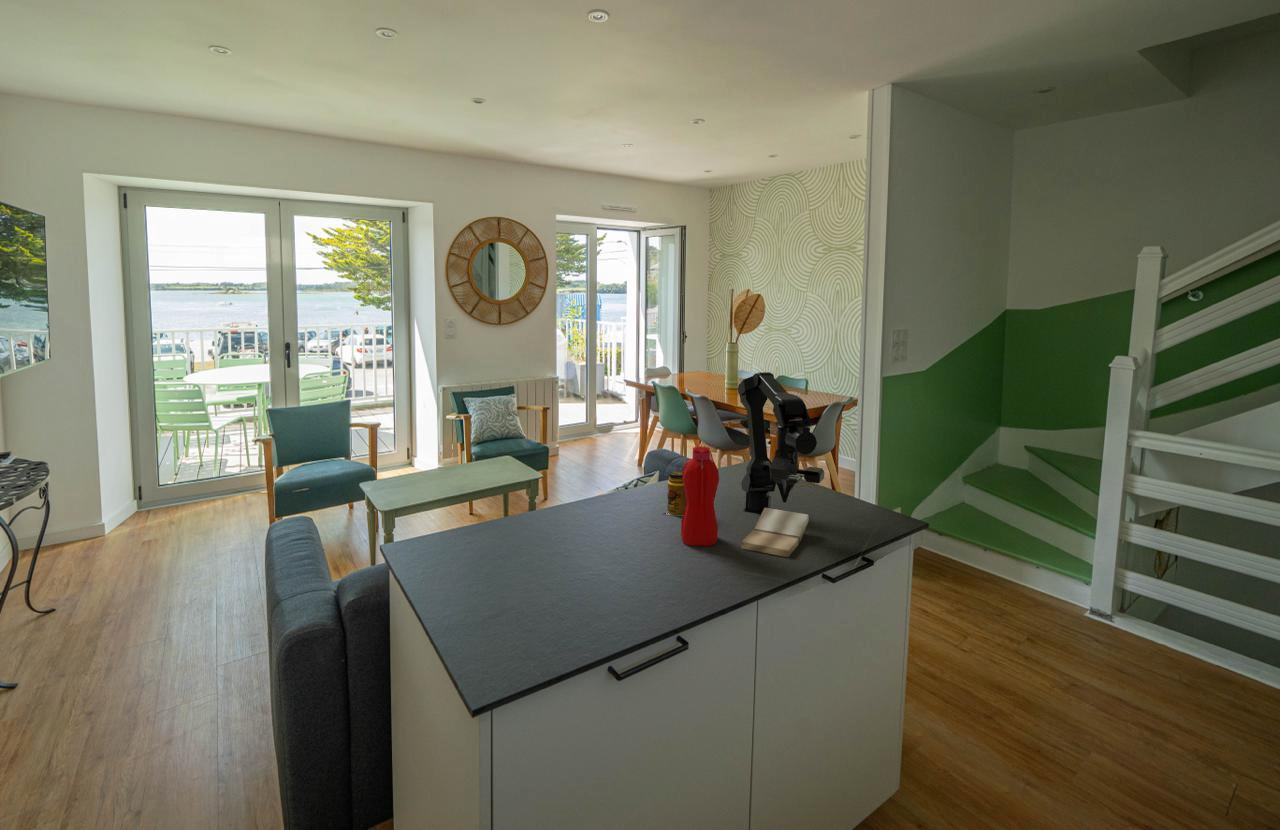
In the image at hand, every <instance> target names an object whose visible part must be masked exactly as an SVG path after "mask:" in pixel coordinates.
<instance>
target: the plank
mask: <svg viewBox="0 0 1280 830" xmlns="http://www.w3.org/2000/svg"><path fill="white" fill-rule="evenodd" d="M809 520H810V519H809V514H806V513H801V512H800V513H799V512H795V511H788V510H781V509H777V508H776V509H775V508H771V509H770V508H764V510H763V512H762V514H760V516H759V518H758V520H757V523H756V525H755V526H754V529H755V530H760V531H766V532H772V533H777V534H783V535H788V536H794V537H799V543H801V541H802V538H803V537H804V534H805V531H806V528H807V526H808V524H809Z"/></svg>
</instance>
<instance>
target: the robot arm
mask: <svg viewBox="0 0 1280 830" xmlns="http://www.w3.org/2000/svg"><path fill="white" fill-rule="evenodd" d="M737 393H738V395H739V400H740V403H741V404H742V406H743V407H744V408H745V409H746V416H747V417H746V418H747V425H748V427H747V428H748V439H749V440H748V441H749V448H750V449H749V450H750V460H749V462H748V464H747V466H746V469H745V470H746V474H745V475H744V476H743V478H742V480H741V489H742V491H744V492H745V508H743V512H746V513H751V514H757V515H761V514H762V512H763V510H764V508H770V509H772V508H771V506H772V505H771V504H772V496H771V495H770V492H772V493H774V492H775V489H776V485H777V488H778V491H779V493H780V497H781V500H782V503H787V502H788V500H789V498H790V495H791V493H792V490H793V489H794V486H795V485H796V484H798V483H799V482H800V481H801V480H802V479H804V480H805V482H807V483H812V484H813V483H814V484H820V483H821V482H822V481H823V480H824V479H825V470H824V469H823V468H822V467H816V466H808V467H807V468H806V469H801V468H799V465H800V464H799V454H800V455H809V454H811V453H812V452H814V450H816V447H817V443H818V441H817V438H816V436H815V435H814V433H812V432H811V428H810V427H811V425H812V424H811V416H810V414H809V412H808V409H807V406H806V403H805V401H804V400H803V399H802V398H801V397H799V396H798V395H795V394H793V393H790V392H788V391H787V390H786V389H785V388H784V387H783V386H782V384H780V382H779V381H777V379H776V377H774V373H772V372H769V371H767V372H766V371H765V372H764V371H763V372H762V371H761V372H757V373H754V374H753V375H751V376H749V377H746V378H745V379H743V380H741V381H740V383H738V386H737ZM768 400H769V402H770V403H771V404H772V406H773V408H772V413H773V414H774V417H775V419H776V422H775V426H777V436H776V450H775V452H774V457H773V459H772V461H771V460H770V457H768V448H767V436H766V426H765V425H766V424H765V415H764V406H765V405H766V402H767V401H768Z"/></svg>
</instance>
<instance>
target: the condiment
mask: <svg viewBox="0 0 1280 830" xmlns="http://www.w3.org/2000/svg"><path fill="white" fill-rule="evenodd" d="M682 474H683V470H674V471H670V472H669V473H668V481H667V502H666V504H667V510H668V514H667V513H666V514H665V515H666V516H667V515H669V516H676V517H683V514H684V509H685V505H686V497H685V490H684V484H683V479H682Z"/></svg>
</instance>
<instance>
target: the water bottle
mask: <svg viewBox="0 0 1280 830" xmlns="http://www.w3.org/2000/svg"><path fill="white" fill-rule="evenodd" d="M710 450H711V449H710V447H708V446H694V447H692V458H691V459H689V460H687V461H686V462H685V463H684V466H683V468H682V471H683V474H682V479H683V484H684V490H685V497H686V505H685V509H684V514H683V516H682V518H681V523H680V526H681V527H680V536H681V541H682V542H683V543H684V544H685V545H688V546H690V547H711V546H714V545H715V544H716V543H717V541H718V538H719V537H718V535H719V533H718V532H719V529H718V521H717V515H716V510H715V500H716V498H715V497H716V494H717V490H718V487H719V483H720V475H719V470H718V467H717V465H716V463H715V462H714V461H713V460H712V459H711V458H710V457H711V456H710V455H711V454H710V453H711V451H710Z"/></svg>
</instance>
